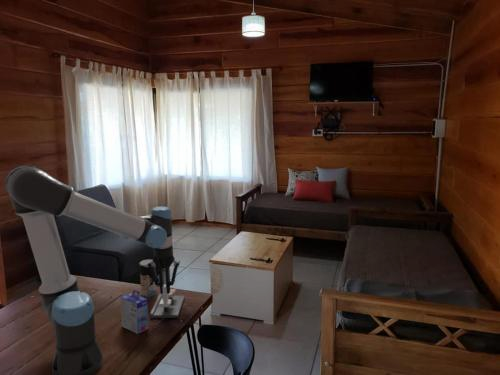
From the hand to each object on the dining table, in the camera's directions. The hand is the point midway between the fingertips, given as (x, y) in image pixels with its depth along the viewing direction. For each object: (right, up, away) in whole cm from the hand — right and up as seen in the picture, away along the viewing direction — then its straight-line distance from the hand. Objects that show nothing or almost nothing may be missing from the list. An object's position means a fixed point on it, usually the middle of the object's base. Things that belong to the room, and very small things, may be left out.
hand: (165, 300), depth 156 cm
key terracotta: (0, 0, +10) cm, 10 cm away
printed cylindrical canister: (-12, -2, +19) cm, 23 cm away
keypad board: (0, -5, +6) cm, 7 cm away
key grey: (0, +1, +5) cm, 5 cm away
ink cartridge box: (-9, -8, -10) cm, 15 cm away
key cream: (0, -2, 0) cm, 2 cm away
